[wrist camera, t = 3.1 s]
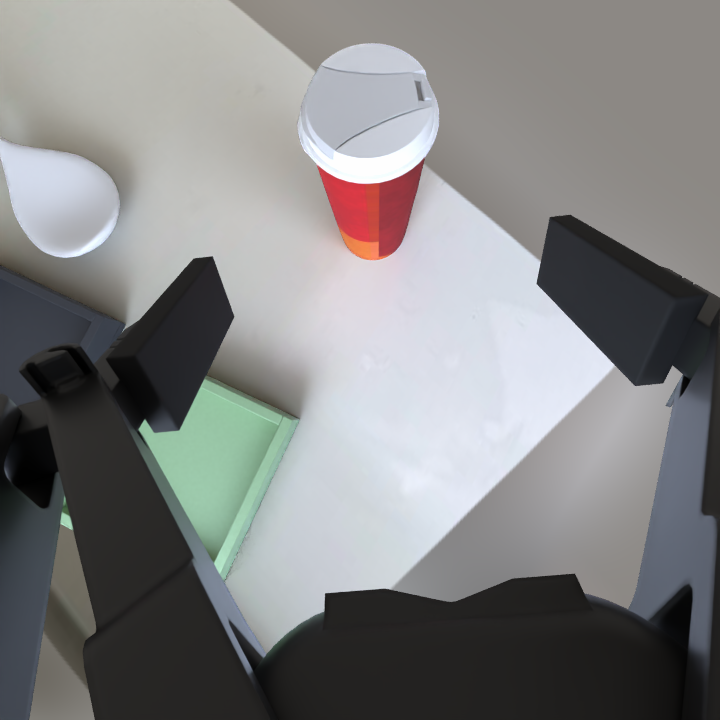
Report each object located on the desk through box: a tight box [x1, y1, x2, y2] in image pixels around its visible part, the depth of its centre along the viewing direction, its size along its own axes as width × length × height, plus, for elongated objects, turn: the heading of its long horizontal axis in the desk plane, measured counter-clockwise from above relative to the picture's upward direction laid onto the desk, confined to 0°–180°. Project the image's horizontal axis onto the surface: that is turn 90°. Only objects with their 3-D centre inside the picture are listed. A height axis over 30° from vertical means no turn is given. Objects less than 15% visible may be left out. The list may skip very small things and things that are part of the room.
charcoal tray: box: [0, 265, 126, 406], centre depth 32 cm, size 15×15×3 cm
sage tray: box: [60, 375, 300, 581], centre depth 30 cm, size 15×15×3 cm
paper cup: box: [297, 43, 439, 260], centre depth 26 cm, size 8×8×14 cm
